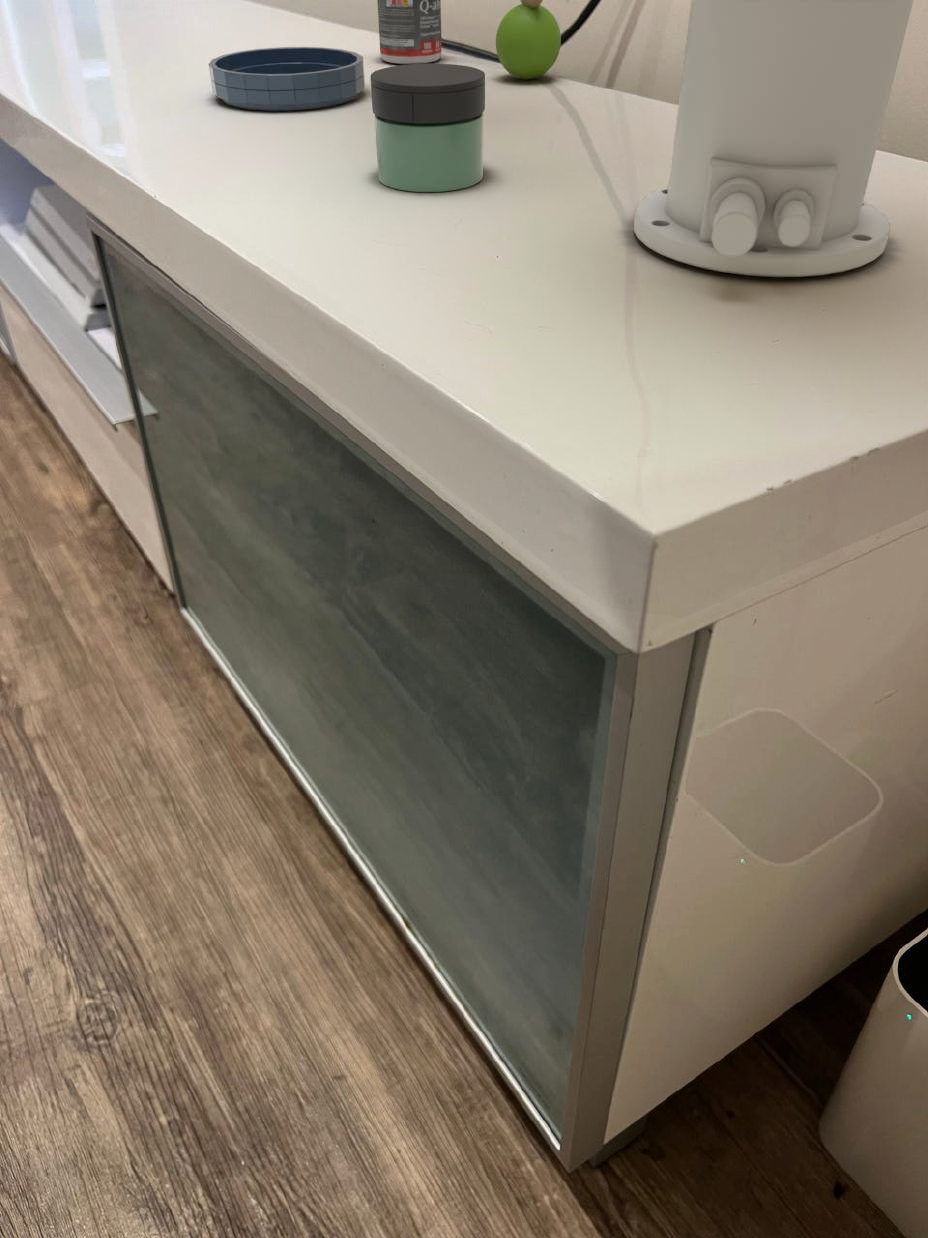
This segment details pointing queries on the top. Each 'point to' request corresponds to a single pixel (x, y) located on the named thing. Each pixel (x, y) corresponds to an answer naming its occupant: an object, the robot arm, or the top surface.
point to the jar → (430, 154)
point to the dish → (287, 78)
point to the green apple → (528, 40)
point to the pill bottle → (410, 30)
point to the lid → (428, 93)
